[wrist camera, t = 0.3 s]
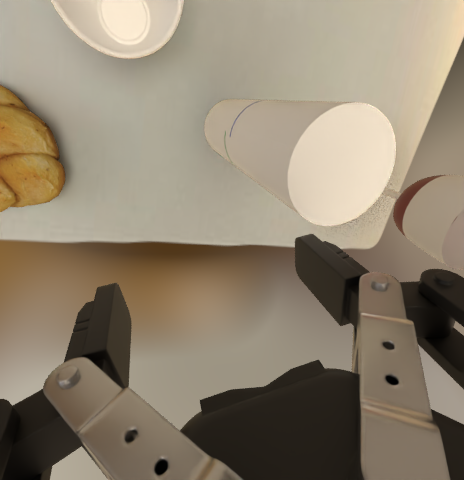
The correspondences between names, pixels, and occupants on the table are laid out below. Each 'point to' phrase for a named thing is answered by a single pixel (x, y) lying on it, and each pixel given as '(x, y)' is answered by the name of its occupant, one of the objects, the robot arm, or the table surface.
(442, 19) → the table surface
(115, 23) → the cup
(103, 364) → the robot arm
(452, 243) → the wineglass
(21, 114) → the bread roll
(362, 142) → the cylindrical container
